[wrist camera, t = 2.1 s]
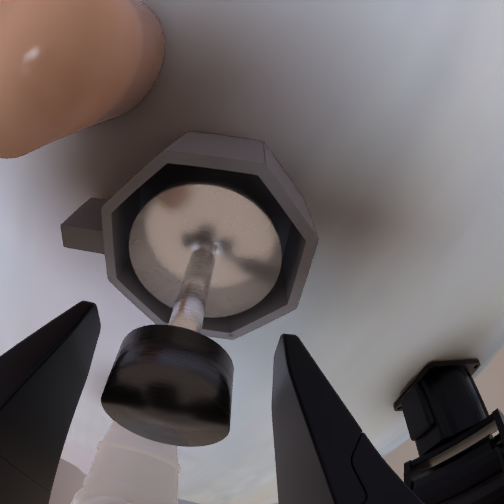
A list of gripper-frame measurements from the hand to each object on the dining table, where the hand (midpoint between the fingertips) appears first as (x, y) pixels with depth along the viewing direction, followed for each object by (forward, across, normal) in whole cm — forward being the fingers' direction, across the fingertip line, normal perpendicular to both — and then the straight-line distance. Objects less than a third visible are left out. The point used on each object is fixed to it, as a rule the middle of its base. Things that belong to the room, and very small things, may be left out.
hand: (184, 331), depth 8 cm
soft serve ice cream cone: (+7, +4, +18) cm, 20 cm away
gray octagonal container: (+7, +1, 0) cm, 7 cm away
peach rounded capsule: (+7, +6, -7) cm, 12 cm away
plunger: (+4, 0, 0) cm, 4 cm away
